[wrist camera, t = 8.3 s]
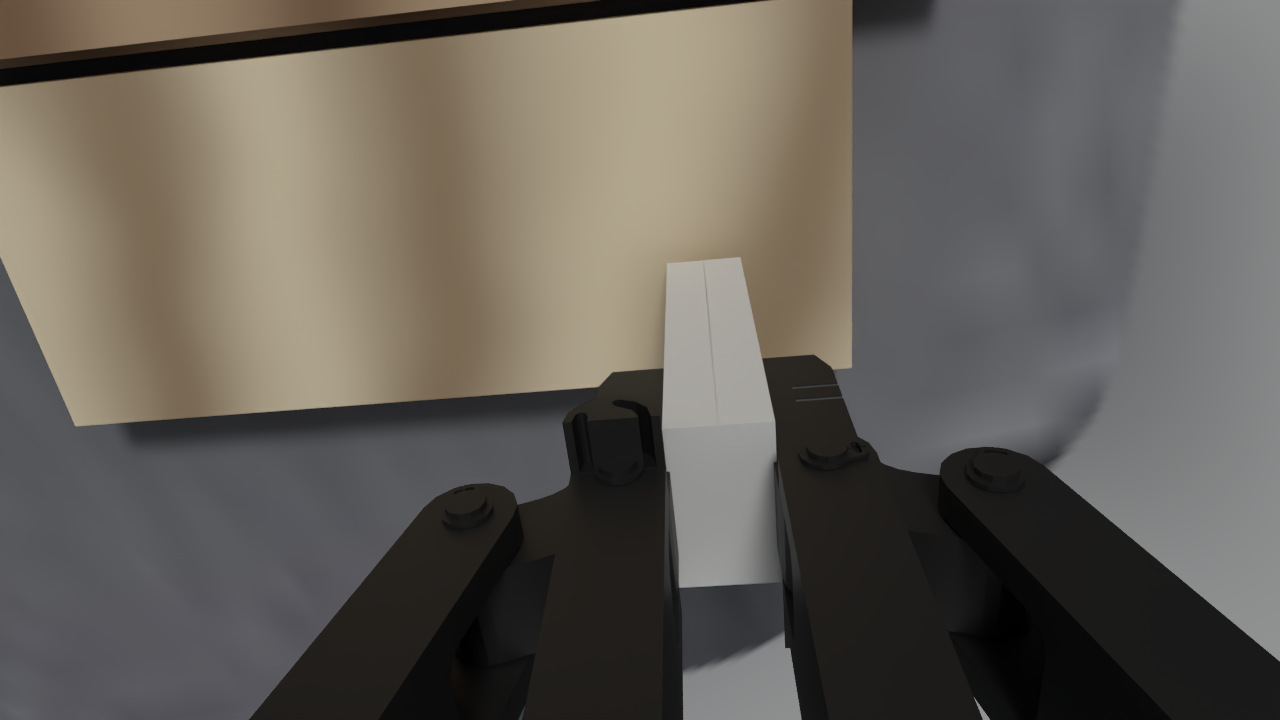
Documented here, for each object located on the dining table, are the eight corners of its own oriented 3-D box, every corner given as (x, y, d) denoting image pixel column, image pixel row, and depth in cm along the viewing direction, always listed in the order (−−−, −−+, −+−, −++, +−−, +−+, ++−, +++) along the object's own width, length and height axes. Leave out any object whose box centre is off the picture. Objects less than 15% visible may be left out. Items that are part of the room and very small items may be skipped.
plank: (115, 396, 21) (75, 426, 19) (-14, 87, 18) (-71, 95, 16) (839, 340, 19) (851, 367, 18) (838, -9, 16) (852, -9, 15)
